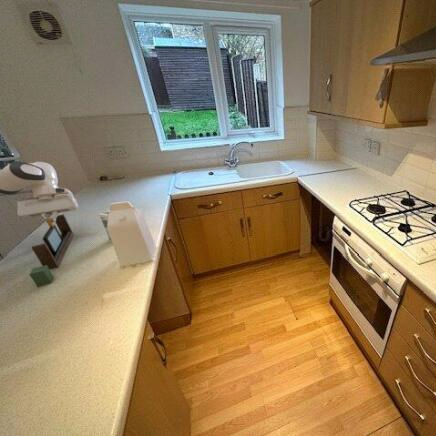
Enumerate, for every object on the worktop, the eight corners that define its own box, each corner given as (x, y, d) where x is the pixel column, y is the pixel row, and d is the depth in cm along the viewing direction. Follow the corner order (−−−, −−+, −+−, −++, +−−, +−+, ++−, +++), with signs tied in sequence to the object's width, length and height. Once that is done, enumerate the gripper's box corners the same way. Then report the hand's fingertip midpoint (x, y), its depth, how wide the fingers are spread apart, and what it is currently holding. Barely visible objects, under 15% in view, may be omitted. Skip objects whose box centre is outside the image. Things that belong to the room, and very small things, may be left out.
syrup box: (109, 240, 118) (97, 214, 111) (119, 234, 123) (109, 209, 116) (118, 242, 117) (107, 215, 110) (128, 235, 122) (118, 210, 115)
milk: (156, 246, 113) (139, 195, 101) (152, 260, 103) (133, 206, 91) (127, 251, 109) (106, 199, 97) (120, 267, 100) (96, 210, 88)
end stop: (40, 280, 93) (32, 268, 90) (54, 276, 95) (46, 264, 92) (37, 286, 90) (29, 274, 87) (51, 283, 91) (43, 270, 89)
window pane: (60, 241, 113) (46, 217, 107) (63, 241, 114) (50, 216, 108) (52, 256, 103) (37, 230, 97) (56, 255, 104) (41, 229, 98)
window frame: (64, 236, 122) (53, 216, 116) (74, 234, 124) (63, 214, 118) (45, 270, 98) (31, 247, 92) (58, 267, 100) (44, 244, 94)
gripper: (11, 196, 104) (15, 225, 101) (71, 188, 113) (76, 214, 110) (21, 202, 110) (24, 230, 107) (77, 193, 119) (81, 219, 116)
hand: (51, 222), depth 108 cm, fingers closed, pressing on window pane
